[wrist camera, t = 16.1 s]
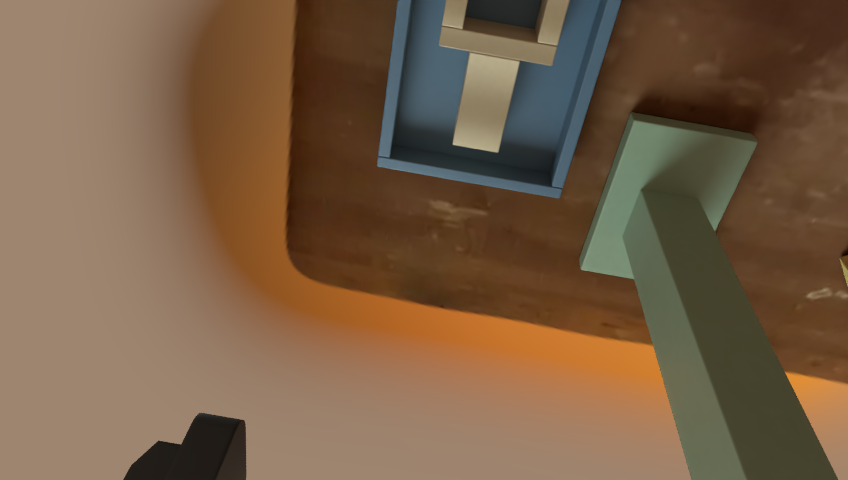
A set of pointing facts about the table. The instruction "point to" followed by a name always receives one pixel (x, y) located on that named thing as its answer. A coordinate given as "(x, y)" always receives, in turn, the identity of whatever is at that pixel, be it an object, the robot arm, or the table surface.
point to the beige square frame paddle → (495, 66)
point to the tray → (529, 108)
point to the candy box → (845, 266)
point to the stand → (700, 301)
